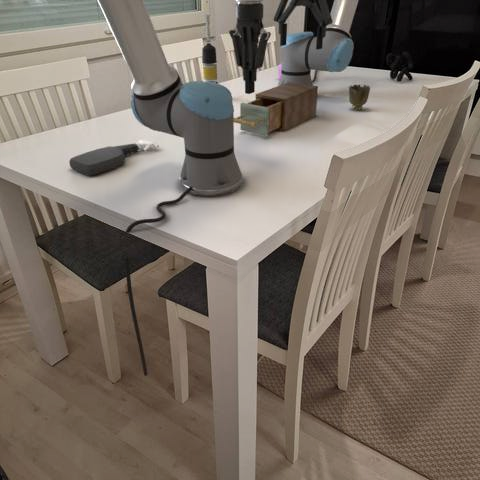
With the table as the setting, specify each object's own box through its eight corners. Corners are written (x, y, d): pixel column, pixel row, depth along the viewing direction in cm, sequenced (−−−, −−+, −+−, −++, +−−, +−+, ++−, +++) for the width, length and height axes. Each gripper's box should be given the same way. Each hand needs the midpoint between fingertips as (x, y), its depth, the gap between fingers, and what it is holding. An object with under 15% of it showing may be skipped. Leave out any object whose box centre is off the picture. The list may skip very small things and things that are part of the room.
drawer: (255, 141, 133) (255, 113, 129) (229, 134, 139) (228, 107, 134) (299, 120, 150) (300, 94, 145) (274, 115, 155) (275, 90, 151)
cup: (344, 110, 161) (346, 87, 157) (349, 105, 167) (352, 83, 162) (364, 113, 158) (367, 90, 154) (369, 107, 164) (372, 85, 159)
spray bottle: (67, 168, 120) (139, 144, 136) (91, 178, 114) (163, 151, 130) (65, 157, 118) (137, 134, 134) (89, 167, 112) (162, 142, 128)
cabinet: (284, 131, 143) (285, 99, 138) (255, 125, 149) (255, 94, 144) (315, 116, 157) (318, 86, 151) (288, 110, 163) (289, 81, 157)
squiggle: (400, 92, 202) (376, 71, 205) (417, 76, 202) (392, 56, 205) (405, 81, 191) (380, 59, 194) (423, 64, 191) (397, 42, 194)
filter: (220, 99, 177) (217, 15, 161) (206, 100, 176) (202, 16, 160) (215, 96, 182) (212, 14, 166) (202, 97, 180) (197, 14, 164)
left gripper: (277, 2, 118) (275, 93, 131) (238, 0, 125) (240, 87, 138) (261, 4, 113) (260, 98, 126) (221, 2, 120) (224, 92, 133)
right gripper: (348, -30, 130) (340, 48, 141) (277, -29, 143) (275, 42, 155) (336, -29, 125) (329, 52, 137) (263, -29, 138) (262, 45, 150)
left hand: (249, 92), depth 132 cm, fingers closed
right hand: (300, 47), depth 146 cm, fingers open, 13 cm apart
